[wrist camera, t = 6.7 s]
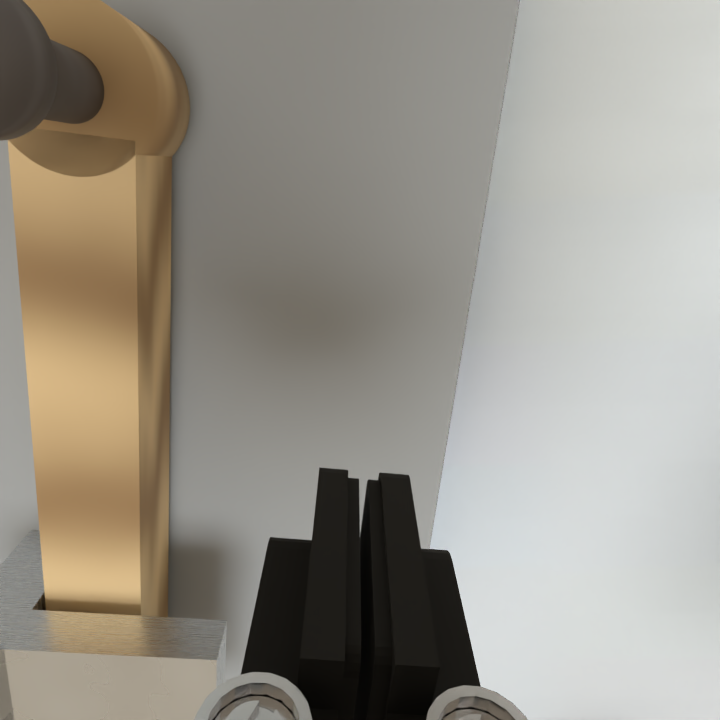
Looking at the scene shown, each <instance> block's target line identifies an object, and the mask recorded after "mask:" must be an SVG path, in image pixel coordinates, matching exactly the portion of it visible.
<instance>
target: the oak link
mask: <svg viewBox="0 0 720 720" xmlns="http://www.w3.org/2000/svg"><path fill="white" fill-rule="evenodd" d="M189 117H190V99H189V93H188V88H187V85H186V81H185V78H184V76H183V74H182V71H181V69H180V67H179V66H178V64H177V62H176V60H175V59H174V57H173V56H172V55H171V53H170V52H169V51H168V50H167V48H166V47H165V46H164V45H163V44H162V43H161V42H160V41H159V40H157V39H156V38H155V37H154V36H152V35H151V34H149V33H148V32H147V31H145V30H144V29H142V28H141V27H139V26H138V25H136V24H135V23H133V22H132V21H130V20H129V19H127V18H126V17H124V16H123V15H121V14H120V13H119V12H117V11H116V10H114V9H113V8H111V7H110V6H108V5H107V4H105V3H104V2H102V1H101V0H0V141H1V140H8V152H9V164H10V176H11V188H12V200H13V213H14V225H15V237H16V249H17V262H18V274H19V286H20V298H21V311H22V323H23V335H24V347H25V360H26V372H27V384H28V396H29V408H30V421H31V433H32V445H33V457H34V470H35V482H36V494H37V506H38V519H39V531H40V543H41V555H42V567H43V580H44V592H45V604H46V611H65V612H83V613H101V614H120V615H138V616H156V617H168V549H169V433H170V317H171V200H172V156H173V155H174V154H175V153H176V151H177V150H178V148H179V147H180V145H181V143H182V141H183V139H184V137H185V134H186V132H187V128H188V124H189Z"/></svg>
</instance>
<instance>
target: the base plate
mask: <svg viewBox="0 0 720 720" xmlns="http://www.w3.org/2000/svg"><path fill="white" fill-rule="evenodd" d="M101 1H102V2H104V3H105V4H107V5H108V6H110V7H111V8H113V9H114V10H116V11H117V12H119V13H120V14H121V15H123V16H124V17H126V18H127V19H129V20H130V21H132V22H133V23H135V24H136V25H138V26H139V27H141V28H142V29H144V30H145V31H147V32H148V33H149V34H151V35H152V36H154V37H155V38H156V39H157V40H159V41H160V42H161V43H162V44H163V45H164V46H165V47H166V48H167V50H168V51H169V52H170V53H171V55H172V56H173V57H174V59H175V60H176V62H177V64H178V66H179V67H180V69H181V71H182V74H183V76H184V78H185V81H186V85H187V88H188V93H189V99H190V117H189V124H188V128H187V132H186V134H185V137H184V139H183V141H182V143H181V145H180V147H179V148H178V150H177V151H176V153H175V154H174V155H173V156H172V200H171V317H170V433H169V549H168V617H175V618H193V619H211V620H227V642H226V681H227V680H229V679H231V678H233V677H235V676H237V675H241V671H242V666H243V661H244V656H245V651H246V646H247V642H248V637H249V632H250V627H251V622H252V618H253V613H254V608H255V603H256V598H257V594H258V589H259V584H260V579H261V574H262V569H263V565H264V560H265V555H266V550H267V546H268V541H269V538H270V537H276V538H289V539H302V540H312V534H313V524H314V515H315V505H316V495H317V486H318V476H319V467H320V468H332V469H344V470H348V478H358V479H359V507H360V532H361V525H362V517H363V509H364V502H365V494H366V486H367V481H368V479H370V480H378V476H379V473H380V472H381V473H393V474H405V475H409V477H410V482H411V488H412V494H413V501H414V507H415V513H416V520H417V526H418V532H419V539H420V545H421V549H429V548H430V542H431V536H432V530H433V523H434V517H435V511H436V505H437V499H438V493H439V487H440V481H441V475H442V469H443V463H444V457H445V451H446V445H447V439H448V433H449V427H450V420H451V414H452V408H453V402H454V396H455V390H456V384H457V378H458V372H459V366H460V360H461V354H462V348H463V342H464V336H465V330H466V324H467V317H468V311H469V305H470V299H471V293H472V287H473V281H474V275H475V269H476V263H477V257H478V251H479V245H480V239H481V233H482V227H483V220H484V214H485V208H486V202H487V196H488V190H489V184H490V178H491V172H492V166H493V160H494V154H495V148H496V142H497V136H498V130H499V124H500V117H501V111H502V105H503V99H504V93H505V87H506V81H507V75H508V69H509V63H510V57H511V51H512V45H513V39H514V33H515V27H516V21H517V14H518V8H519V2H520V0H101ZM30 530H39V519H38V506H37V494H36V482H35V470H34V457H33V445H32V433H31V421H30V408H29V396H28V384H27V372H26V360H25V347H24V335H23V323H22V311H21V298H20V286H19V274H18V262H17V249H16V237H15V225H14V213H13V200H12V188H11V176H10V164H9V152H8V140H1V141H0V565H1V564H2V563H3V562H4V560H5V559H6V558H7V557H8V556H9V555H10V553H11V552H12V551H13V550H14V549H15V548H16V546H17V545H18V544H19V543H20V542H21V541H22V539H23V538H24V537H25V536H26V535H27V534H28V532H29V531H30Z"/></svg>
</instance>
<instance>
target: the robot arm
mask: <svg viewBox="0 0 720 720" xmlns="http://www.w3.org/2000/svg"><path fill="white" fill-rule="evenodd" d="M194 720H527V718H526V716H525V715H524V714H523V713H522V712H521V711H520V710H519V709H518V708H517V707H516V706H515V705H514V704H513V703H512V702H511V701H509V700H507V699H506V698H504V697H503V696H501V695H500V694H498V693H497V692H494V691H491V690H488V689H486V688H483V687H480V682H479V678H478V673H477V669H476V664H475V660H474V656H473V651H472V647H471V642H470V638H469V633H468V629H467V625H466V620H465V616H464V611H463V607H462V602H461V598H460V593H459V589H458V585H457V580H456V576H455V571H454V567H453V562H452V559H451V556H450V553H449V552H448V551H447V550H434V549H421V545H420V539H419V532H418V526H417V520H416V513H415V507H414V501H413V494H412V488H411V482H410V477H409V475H405V474H393V473H381V472H380V473H379V476H378V480H370V479H368V481H367V486H366V494H365V502H364V509H363V517H362V525H361V532H360V507H359V479H358V478H348V470H344V469H332V468H320V467H319V476H318V486H317V495H316V505H315V515H314V524H313V534H312V540H302V539H289V538H276V537H270V538H269V541H268V546H267V550H266V555H265V560H264V565H263V569H262V574H261V579H260V584H259V589H258V594H257V598H256V603H255V608H254V613H253V618H252V622H251V627H250V632H249V637H248V642H247V646H246V651H245V656H244V661H243V666H242V671H241V675H237V676H235V677H233V678H231V679H229V680H227V681H225V682H224V683H222V684H220V685H219V686H218V687H217V688H216V689H215V690H214V691H213V692H211V693H210V694H209V695H208V696H207V697H206V699H205V700H204V702H203V704H202V705H201V707H200V709H199V710H198V712H197V714H196V716H195V719H194Z"/></svg>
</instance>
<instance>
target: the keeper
mask: <svg viewBox="0 0 720 720" xmlns="http://www.w3.org/2000/svg"><path fill="white" fill-rule="evenodd" d="M226 642H227V620H211V619H193V618H175V617H156V616H138V615H120V614H101V613H83V612H65V611H46V604H45V592H44V580H43V567H42V555H41V543H40V531H39V530H30V531H29V532H28V534H27V535H26V536H25V537H24V538H23V539H22V541H21V542H20V543H19V544H18V545H17V546H16V548H15V549H14V550H13V551H12V552H11V553H10V555H9V556H8V557H7V558H6V559H5V560H4V562H3V563H2V564H1V565H0V720H194V719H195V716H196V714H197V712H198V710H199V709H200V707H201V705H202V704H203V702H204V700H205V699H206V697H207V696H208V695H209V694H210V693H211V692H213V691H214V690H215V689H216V688H217V687H218V686H219V685H220V684H222V683H224V682H225V681H226Z"/></svg>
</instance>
